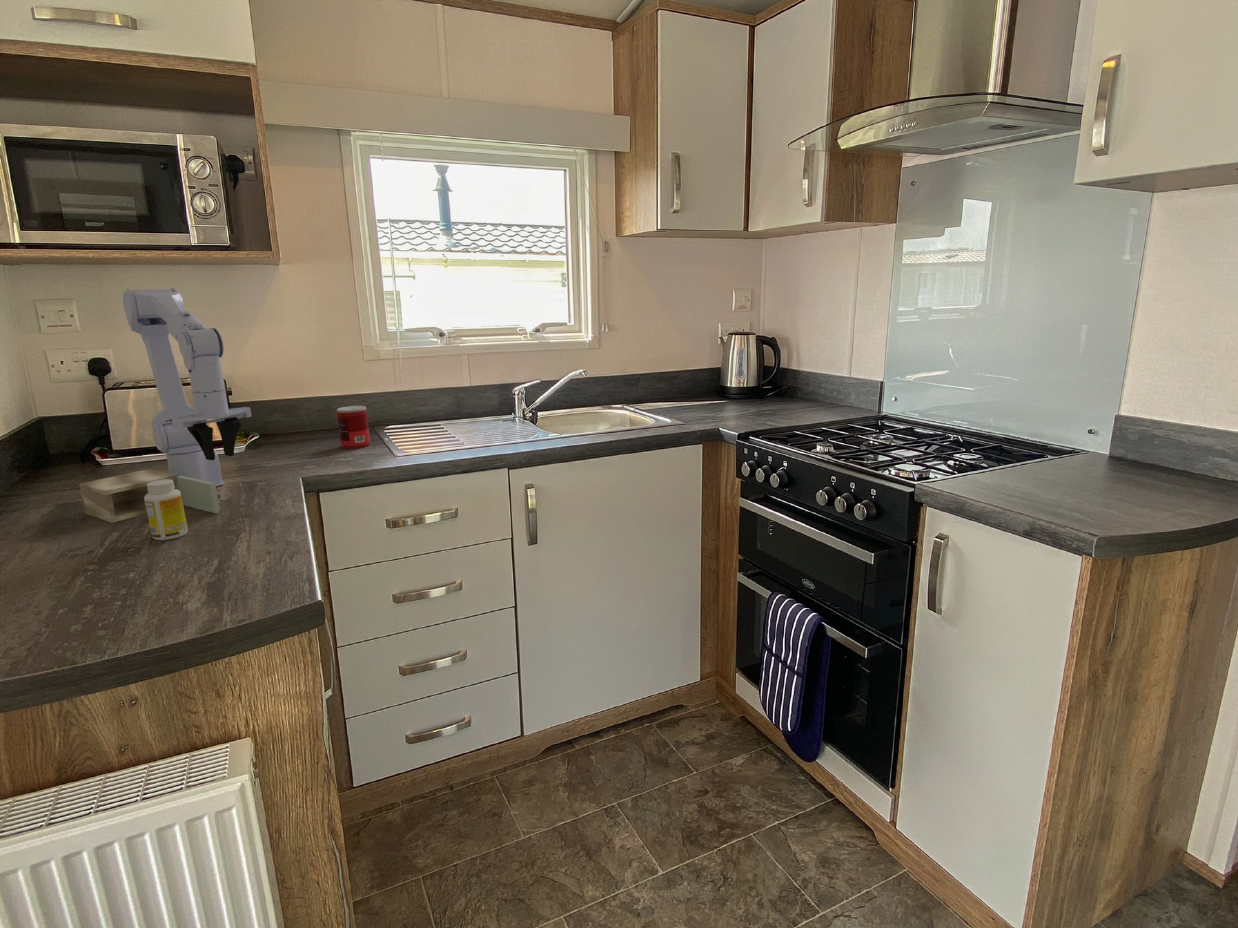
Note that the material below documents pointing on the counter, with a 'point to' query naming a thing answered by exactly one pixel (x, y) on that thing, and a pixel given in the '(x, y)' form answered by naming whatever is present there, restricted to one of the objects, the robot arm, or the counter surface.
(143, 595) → the counter surface
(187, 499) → the door
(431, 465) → the counter surface
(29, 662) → the counter surface
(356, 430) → the canned food
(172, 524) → the supplement bottle
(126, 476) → the cabinet
